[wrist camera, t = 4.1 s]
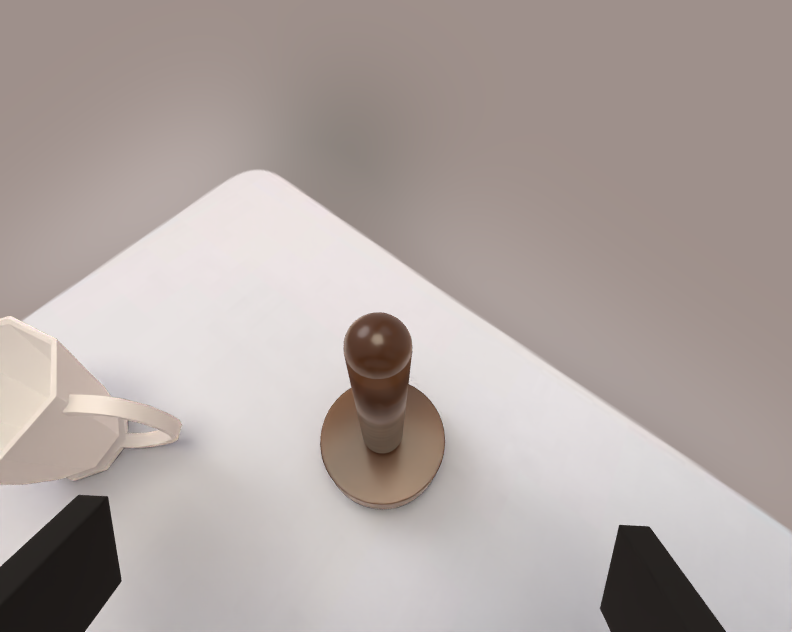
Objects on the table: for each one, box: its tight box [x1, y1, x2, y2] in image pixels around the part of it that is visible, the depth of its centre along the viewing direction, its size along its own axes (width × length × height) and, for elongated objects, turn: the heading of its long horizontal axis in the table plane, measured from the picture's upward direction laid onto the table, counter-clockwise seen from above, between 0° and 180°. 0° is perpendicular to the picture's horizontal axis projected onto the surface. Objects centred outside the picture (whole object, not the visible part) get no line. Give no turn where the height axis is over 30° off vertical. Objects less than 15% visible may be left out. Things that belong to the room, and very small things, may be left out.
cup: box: [0, 316, 182, 485], centre depth 21 cm, size 7×10×8 cm
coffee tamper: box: [320, 313, 445, 509], centre depth 18 cm, size 6×6×14 cm
